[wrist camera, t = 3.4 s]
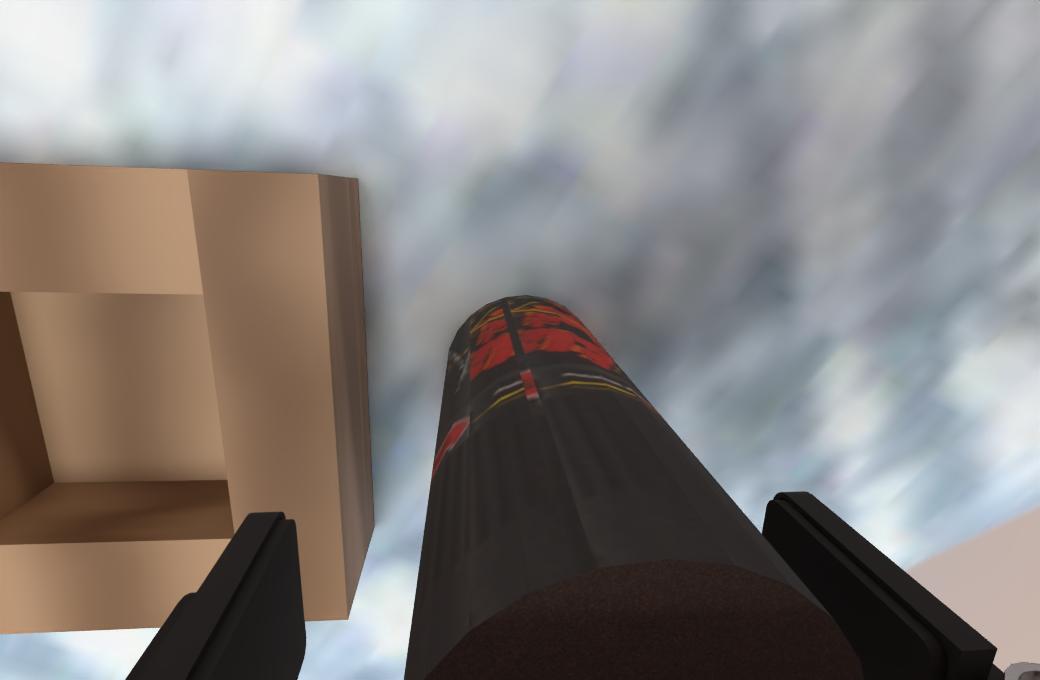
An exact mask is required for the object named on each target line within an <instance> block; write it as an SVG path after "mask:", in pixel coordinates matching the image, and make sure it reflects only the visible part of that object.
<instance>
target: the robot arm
mask: <svg viewBox="0 0 1040 680" xmlns="http://www.w3.org/2000/svg"><path fill="white" fill-rule="evenodd" d="M762 535H763V536H764V537H765V539H766V540H767V541H768V542H769V543H770V544H771V546H772V547H773V548H774V549H775V550H776V552H777V553H778V554H779V555H780V556H781V557H782V559H783V560H784V561H785V562H786V563H787V564H788V566H789V567H790V568H791V569H792V570H793V571H794V573H795V574H796V575H797V576H798V577H799V579H800V580H801V581H802V582H803V583H804V584H805V586H806V587H807V588H808V589H809V590H810V591H811V593H812V594H813V595H814V596H815V597H816V598H817V600H818V601H819V602H820V603H821V604H822V606H823V607H824V608H825V609H826V610H827V611H828V613H829V614H830V615H831V616H832V617H833V618H834V620H835V621H836V623H837V625H838V626H839V628H840V629H841V631H842V632H843V634H844V636H845V637H846V639H847V640H848V642H849V643H850V645H851V647H852V648H853V650H854V651H855V653H856V654H857V656H858V658H859V659H860V661H861V666H862V671H863V676H864V680H1040V664H1036V663H1028V662H1020V663H1015V664H1011V665H1010V666H1009V667H1008V668H1007V669H1006V670H1005V672H1004V673H1003V672H1002V671H1001V670H1000V669H999V668H997V667H996V666H995V665H994V664H993V661H994V657H995V654H996V651H997V648H996V647H995V646H994V645H993V644H991V643H990V642H989V641H987V639H985V638H984V637H983V636H982V635H981V634H979V633H978V632H977V631H976V630H975V629H973V628H972V627H971V626H970V625H969V624H967V623H966V622H965V621H963V620H962V619H961V618H960V617H959V616H958V615H957V614H955V613H954V612H953V611H952V610H951V609H949V608H948V607H947V606H946V605H944V604H943V603H942V602H941V601H940V600H938V599H937V598H936V597H935V596H934V595H932V594H931V593H930V592H929V591H928V590H926V589H925V588H924V587H923V586H921V585H920V584H919V583H918V582H917V581H916V580H914V579H913V578H912V577H911V576H910V575H908V574H907V573H906V572H905V571H904V570H902V569H901V568H900V567H899V566H897V565H896V564H895V563H894V562H893V561H891V560H890V559H889V558H888V557H887V556H885V555H884V554H883V553H882V552H881V551H879V550H878V549H877V548H876V547H875V546H873V545H872V544H871V543H870V542H869V541H867V540H866V539H865V538H864V537H863V536H861V535H860V534H859V533H858V532H857V531H855V530H854V529H853V528H852V527H850V526H849V525H848V524H847V523H846V522H844V521H843V520H842V519H841V518H840V517H838V516H837V515H836V514H835V513H834V512H832V511H831V510H830V509H829V508H828V507H826V506H825V505H824V504H823V503H822V502H820V501H819V500H818V499H817V498H816V497H814V496H813V495H812V494H810V493H809V492H780V493H778V494H776V495H775V497H774V499H773V500H771V501H769V502H768V504H767V507H766V513H765V519H764V524H763V530H762ZM305 649H306V631H305V619H304V608H303V597H302V586H301V574H300V563H299V552H298V540H297V529H296V523H295V520H294V519H286V516H285V514H284V513H283V512H282V511H281V512H255V513H249V514H248V515H247V516H246V518H245V519H244V521H243V522H242V524H241V525H240V527H239V528H238V530H237V531H236V533H235V534H234V536H233V537H232V539H231V540H230V542H229V543H228V545H227V547H226V548H225V550H224V551H223V553H222V554H221V556H220V557H219V559H218V560H217V562H216V563H215V565H214V566H213V568H212V569H211V571H210V572H209V574H208V575H207V577H206V579H205V580H204V582H203V583H202V585H201V586H200V588H199V589H198V591H197V592H193V593H188V594H186V595H185V596H183V598H182V599H181V600H180V601H179V602H178V603H177V605H176V606H175V608H174V609H173V611H172V612H171V614H170V615H169V617H168V618H167V619H166V621H165V622H164V624H163V625H162V627H161V628H160V630H159V631H158V633H157V634H156V636H155V637H154V638H153V640H152V641H151V643H150V644H149V646H148V647H147V649H146V650H145V652H144V653H143V655H142V656H141V657H140V659H139V660H138V662H137V663H136V665H135V666H134V668H133V669H132V671H131V672H130V673H129V675H128V676H127V678H126V679H125V680H297V679H298V676H299V673H300V669H301V666H302V663H303V660H304V656H305Z"/></svg>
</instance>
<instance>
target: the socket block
mask: <svg viewBox="0 0 1040 680" xmlns="http://www.w3.org/2000/svg"><path fill="white" fill-rule="evenodd" d="M281 511H282V512H283V513H284V514H285V516H286V519H294V520H295V523H296V529H297V540H298V552H299V563H300V574H301V586H302V597H303V608H304V619H305V621H325V620H348V617H349V614H350V610H351V607H352V603H353V600H354V596H355V593H356V589H357V586H358V582H359V579H360V575H361V572H362V568H363V565H364V561H365V558H366V554H367V551H368V547H369V544H370V541H371V537H372V534H373V530H374V507H373V486H372V465H371V444H370V423H369V402H368V381H367V360H366V339H365V318H364V297H363V276H362V255H361V234H360V213H359V192H358V179H355V178H347V177H338V176H330V175H321V174H300V173H273V172H245V171H218V170H191V169H163V168H136V167H108V166H81V165H54V164H26V163H0V634H19V633H43V632H66V631H90V630H113V629H137V628H160V627H162V625H163V624H164V622H165V621H166V619H167V618H168V617H169V615H170V614H171V612H172V611H173V609H174V608H175V606H176V605H177V603H178V602H179V601H180V600H181V599H182V598H183V596H185V595H186V594H188V593H193V592H197V591H198V589H199V588H200V586H201V585H202V583H203V582H204V580H205V579H206V577H207V575H208V574H209V572H210V571H211V569H212V568H213V566H214V565H215V563H216V562H217V560H218V559H219V557H220V556H221V554H222V553H223V551H224V550H225V548H226V547H227V545H228V543H229V542H230V540H231V539H232V537H233V536H234V534H235V533H236V531H237V530H238V528H239V527H240V525H241V524H242V522H243V521H244V519H245V518H246V516H247V515H248V514H249V513H255V512H281Z"/></svg>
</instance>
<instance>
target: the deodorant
mask: <svg viewBox="0 0 1040 680" xmlns="http://www.w3.org/2000/svg"><path fill="white" fill-rule="evenodd" d="M404 680H864V676H863V671H862V666H861V661H860V659H859V658H858V656H857V654H856V653H855V651H854V650H853V648H852V647H851V645H850V643H849V642H848V640H847V639H846V637H845V636H844V634H843V632H842V631H841V629H840V628H839V626H838V625H837V623H836V621H835V620H834V618H833V617H832V616H831V615H830V614H829V613H828V611H827V610H826V609H825V608H824V607H823V606H822V604H821V603H820V602H819V601H818V600H817V598H816V597H815V596H814V595H813V594H812V593H811V591H810V590H809V589H808V588H807V587H806V586H805V584H804V583H803V582H802V581H801V580H800V579H799V577H798V576H797V575H796V574H795V573H794V571H793V570H792V569H791V568H790V567H789V566H788V564H787V563H786V562H785V561H784V560H783V559H782V557H781V556H780V555H779V554H778V553H777V552H776V550H775V549H774V548H773V547H772V546H771V544H770V543H769V542H768V541H767V540H766V539H765V537H764V536H763V535H762V534H761V533H760V532H759V530H758V529H757V528H756V527H755V526H754V525H753V523H752V522H751V521H750V520H749V519H748V517H747V516H746V515H745V514H744V513H743V512H742V510H741V509H740V508H739V507H738V506H737V505H736V503H735V502H734V501H733V500H732V499H731V497H730V496H729V495H728V494H727V493H726V492H725V490H724V489H723V488H722V487H721V486H720V485H719V483H718V482H717V481H716V480H715V479H714V478H713V476H712V475H711V474H710V473H709V472H708V470H707V469H706V468H705V467H704V466H703V465H702V463H701V462H700V461H699V460H698V459H697V458H696V456H695V455H694V454H693V453H692V452H691V451H690V449H689V448H688V447H687V446H686V445H685V443H684V442H683V441H682V440H681V439H680V438H679V436H678V435H677V434H676V433H675V432H674V431H673V429H672V428H671V427H670V426H669V425H668V424H667V422H666V421H665V420H664V419H663V418H662V416H661V415H660V414H659V413H658V412H657V411H656V409H655V408H654V407H653V406H652V405H651V404H650V402H649V401H648V400H647V399H646V398H645V396H644V395H643V394H642V393H641V392H640V391H639V389H638V388H637V387H636V386H635V385H634V384H633V382H632V381H631V380H630V379H629V378H628V377H627V375H626V374H625V373H624V372H623V371H622V369H621V368H620V367H619V366H618V365H617V364H616V362H615V361H614V360H613V359H612V358H611V357H610V355H609V354H608V353H607V352H606V351H605V350H604V348H603V347H602V346H601V345H600V344H599V342H598V341H597V340H596V339H595V338H594V337H593V335H592V334H591V333H590V332H589V331H588V330H587V328H586V327H585V326H584V325H583V324H582V322H581V321H580V320H579V319H578V318H577V317H576V316H574V315H573V314H572V313H571V312H570V311H568V310H567V309H566V308H565V307H563V306H561V305H559V304H557V303H555V302H552V301H550V300H548V299H546V298H540V297H533V296H527V295H525V296H515V297H505V298H503V299H500V300H497V301H495V302H492V303H489V304H487V305H485V306H484V307H482V308H481V309H480V310H478V311H477V312H475V313H474V314H472V315H471V316H470V317H469V318H468V319H467V321H466V322H465V323H464V324H463V325H462V326H461V328H460V329H459V330H458V331H457V333H456V336H455V338H454V340H453V342H452V344H451V347H450V349H449V355H448V362H447V368H446V376H445V383H444V390H443V398H442V405H441V412H440V420H439V427H438V434H437V442H436V449H435V456H434V463H433V471H432V478H431V485H430V493H429V500H428V507H427V515H426V522H425V529H424V536H423V544H422V551H421V558H420V566H419V573H418V580H417V588H416V595H415V602H414V609H413V617H412V624H411V631H410V639H409V646H408V653H407V661H406V668H405V675H404Z"/></svg>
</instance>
